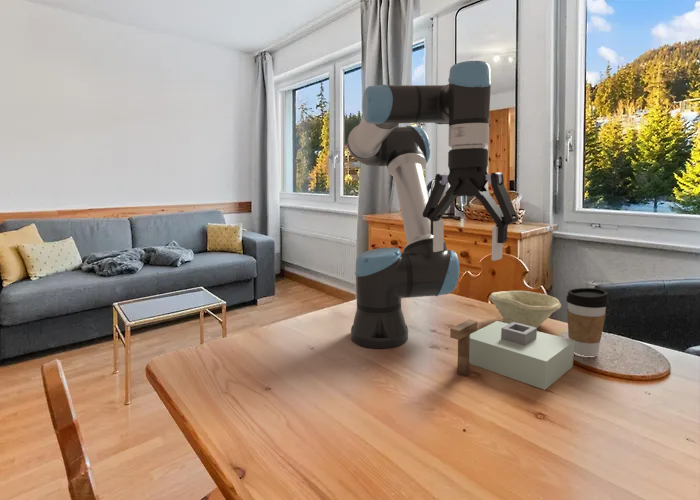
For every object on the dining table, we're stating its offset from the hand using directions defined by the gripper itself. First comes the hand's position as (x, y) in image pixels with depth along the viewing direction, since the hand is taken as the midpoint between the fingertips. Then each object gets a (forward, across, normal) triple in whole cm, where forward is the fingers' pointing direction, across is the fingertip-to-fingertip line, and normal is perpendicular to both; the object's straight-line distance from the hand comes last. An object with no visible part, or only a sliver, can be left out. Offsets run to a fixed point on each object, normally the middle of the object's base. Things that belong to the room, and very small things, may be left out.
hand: (465, 255), depth 85 cm
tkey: (+26, 0, 0) cm, 26 cm away
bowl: (+26, -4, +36) cm, 44 cm away
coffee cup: (+26, +14, +28) cm, 41 cm away
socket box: (+26, +6, +12) cm, 29 cm away
